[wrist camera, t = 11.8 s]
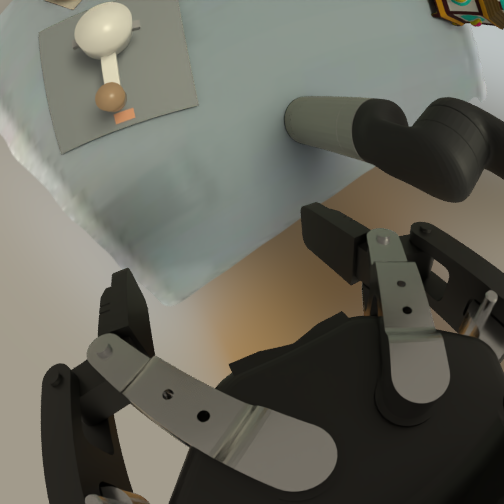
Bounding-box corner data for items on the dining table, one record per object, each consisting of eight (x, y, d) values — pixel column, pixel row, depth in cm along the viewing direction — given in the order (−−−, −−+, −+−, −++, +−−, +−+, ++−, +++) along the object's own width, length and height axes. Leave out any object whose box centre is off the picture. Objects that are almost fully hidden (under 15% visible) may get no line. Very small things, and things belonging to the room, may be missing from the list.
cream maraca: (74, 28, 19) (61, 10, 13) (137, 9, 22) (138, -15, 15) (87, 123, 27) (73, 124, 21) (150, 102, 30) (152, 98, 23)
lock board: (174, -10, 25) (179, -23, 20) (196, 105, 37) (204, 104, 32) (41, 34, 19) (31, 26, 15) (63, 153, 31) (54, 158, 27)
